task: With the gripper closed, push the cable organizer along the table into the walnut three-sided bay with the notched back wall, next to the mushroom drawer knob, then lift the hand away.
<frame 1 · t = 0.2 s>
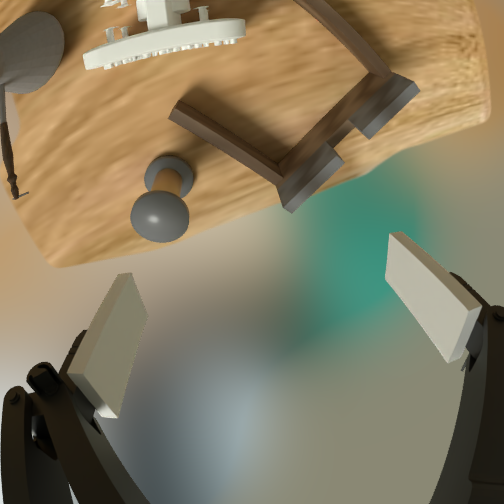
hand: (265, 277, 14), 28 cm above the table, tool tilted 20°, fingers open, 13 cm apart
coffee pot: (47, 78, 25), on the table
mushroom drawer knob: (169, 177, 40), on the table
notched bay: (282, 82, 32), on the table
cable organizer: (171, 9, 23), on the table
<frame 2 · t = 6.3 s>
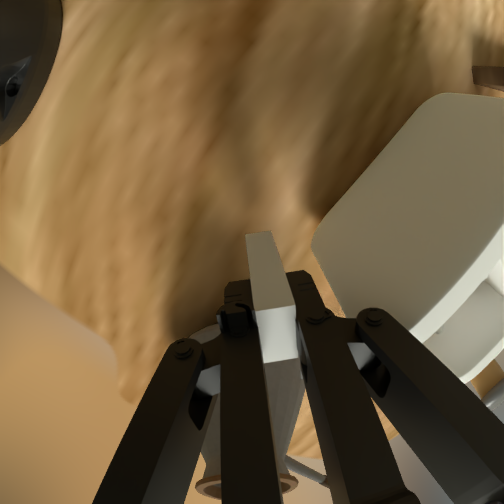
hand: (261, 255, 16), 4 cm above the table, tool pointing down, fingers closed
coffee pot: (281, 368, 26), on the table
mushroom drawer knob: (463, 342, 28), on the table
cable organizer: (412, 199, 19), on the table, touching gripper, hand
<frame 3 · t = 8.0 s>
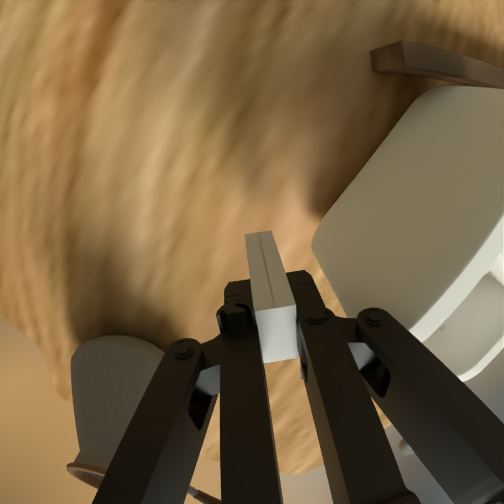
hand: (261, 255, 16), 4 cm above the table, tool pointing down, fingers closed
coffee pot: (180, 382, 26), on the table
notched bay: (466, 196, 19), on the table
cable organizer: (411, 194, 19), on the table, touching gripper, hand
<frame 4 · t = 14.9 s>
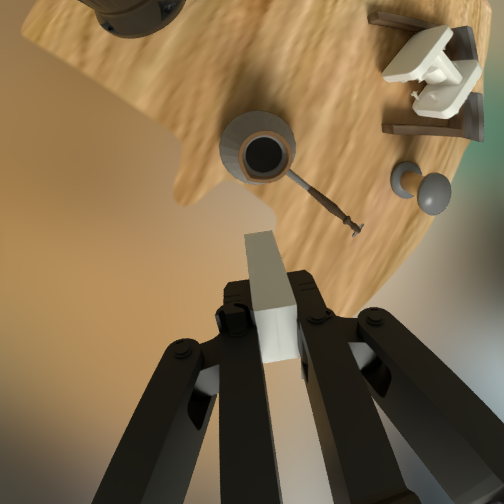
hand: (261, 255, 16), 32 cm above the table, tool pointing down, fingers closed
coffee pot: (280, 163, 46), on the table
mushroom drawer knob: (405, 179, 48), on the table
notched bay: (417, 76, 39), on the table
cable organizer: (414, 72, 39), on the table
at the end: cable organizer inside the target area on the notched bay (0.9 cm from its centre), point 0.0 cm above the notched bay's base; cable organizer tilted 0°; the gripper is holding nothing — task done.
